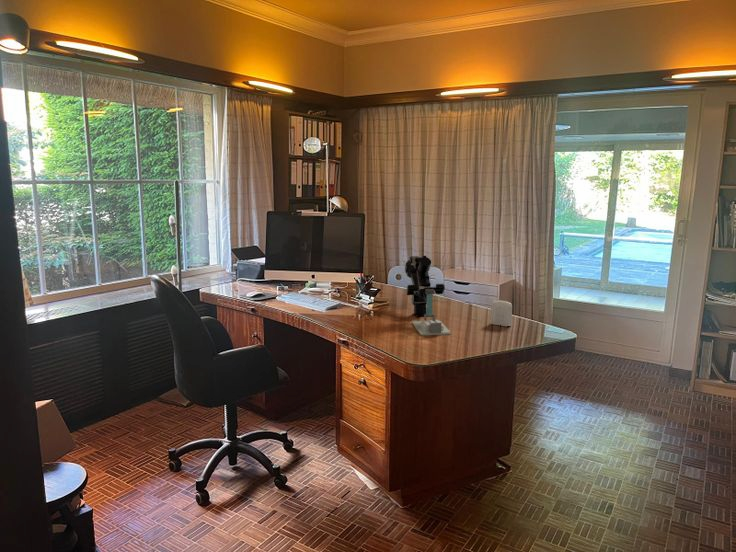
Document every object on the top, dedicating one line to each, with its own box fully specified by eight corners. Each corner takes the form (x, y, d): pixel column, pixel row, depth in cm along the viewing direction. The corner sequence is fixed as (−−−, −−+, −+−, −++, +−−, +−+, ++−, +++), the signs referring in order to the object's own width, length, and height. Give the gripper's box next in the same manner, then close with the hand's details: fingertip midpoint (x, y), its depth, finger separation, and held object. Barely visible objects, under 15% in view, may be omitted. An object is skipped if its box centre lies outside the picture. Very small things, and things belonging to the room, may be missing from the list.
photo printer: (512, 325, 263) (513, 300, 261) (509, 327, 260) (510, 302, 257) (492, 322, 269) (493, 298, 267) (489, 324, 265) (490, 300, 263)
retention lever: (425, 316, 262) (425, 289, 260) (433, 316, 263) (433, 289, 260) (425, 317, 260) (426, 290, 258) (434, 317, 261) (434, 290, 258)
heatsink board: (412, 323, 270) (412, 310, 268) (439, 322, 271) (439, 309, 270) (421, 335, 248) (421, 322, 247) (450, 334, 249) (450, 321, 248)
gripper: (438, 286, 281) (443, 311, 272) (403, 287, 279) (407, 312, 270) (442, 273, 272) (447, 299, 263) (406, 274, 270) (410, 300, 261)
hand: (427, 303), depth 265 cm, fingers closed
